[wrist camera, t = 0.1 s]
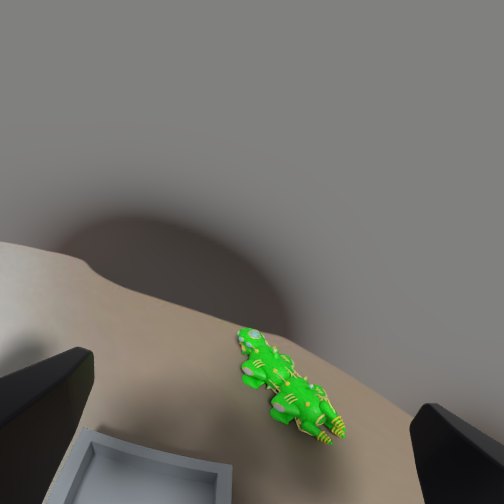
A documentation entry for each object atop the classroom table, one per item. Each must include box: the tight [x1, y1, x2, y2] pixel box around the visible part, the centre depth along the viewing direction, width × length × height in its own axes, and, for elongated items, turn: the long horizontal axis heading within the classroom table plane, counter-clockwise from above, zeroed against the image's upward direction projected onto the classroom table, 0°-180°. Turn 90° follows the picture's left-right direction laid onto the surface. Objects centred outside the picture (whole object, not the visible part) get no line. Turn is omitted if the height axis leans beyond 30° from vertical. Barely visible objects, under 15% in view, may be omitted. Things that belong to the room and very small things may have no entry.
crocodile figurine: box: [237, 328, 346, 445], centre depth 31 cm, size 7×18×4 cm, turn 31°
